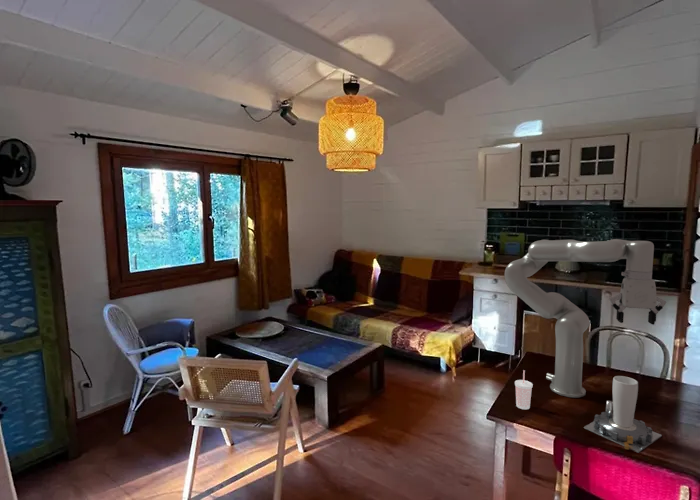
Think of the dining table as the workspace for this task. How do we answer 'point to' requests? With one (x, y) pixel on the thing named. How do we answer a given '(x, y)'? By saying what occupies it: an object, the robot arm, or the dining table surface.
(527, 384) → the beverage cup
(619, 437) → the sprocket
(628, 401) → the drinking glass
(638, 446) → the base plate
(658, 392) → the dining table surface
